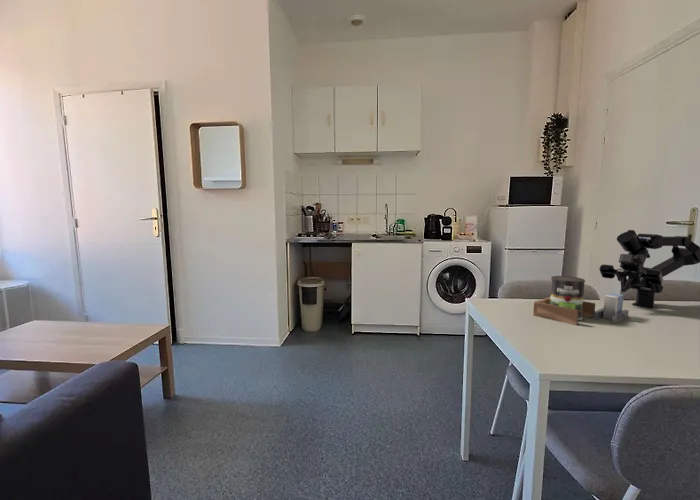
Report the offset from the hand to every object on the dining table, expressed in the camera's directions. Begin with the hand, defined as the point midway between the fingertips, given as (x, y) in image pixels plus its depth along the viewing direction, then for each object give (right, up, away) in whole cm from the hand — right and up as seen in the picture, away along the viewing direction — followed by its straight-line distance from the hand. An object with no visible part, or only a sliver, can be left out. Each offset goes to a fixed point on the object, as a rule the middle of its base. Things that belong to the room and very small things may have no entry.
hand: (622, 291), depth 133 cm
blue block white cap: (-8, -9, -5) cm, 13 cm away
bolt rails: (-9, -9, -6) cm, 14 cm away
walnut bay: (-24, -9, -4) cm, 26 cm away
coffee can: (-24, -9, -4) cm, 26 cm away
